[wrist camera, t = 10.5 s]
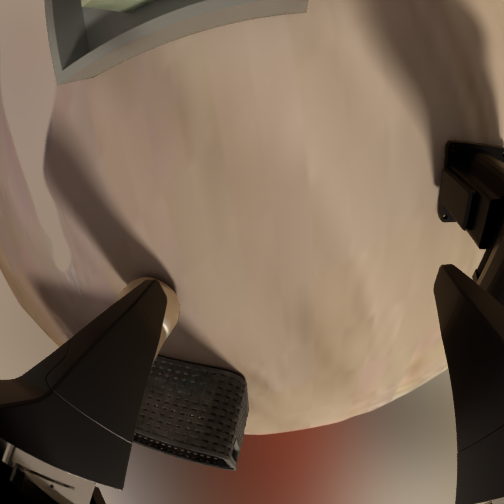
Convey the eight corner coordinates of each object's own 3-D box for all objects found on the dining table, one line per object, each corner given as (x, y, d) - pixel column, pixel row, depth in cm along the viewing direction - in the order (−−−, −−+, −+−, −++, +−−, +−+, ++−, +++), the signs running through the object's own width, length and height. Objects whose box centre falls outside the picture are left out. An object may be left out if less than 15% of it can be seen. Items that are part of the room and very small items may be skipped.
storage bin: (124, 382, 51) (104, 431, 41) (85, 332, 39) (52, 393, 29) (249, 411, 47) (238, 472, 37) (246, 369, 36) (228, 458, 25)
